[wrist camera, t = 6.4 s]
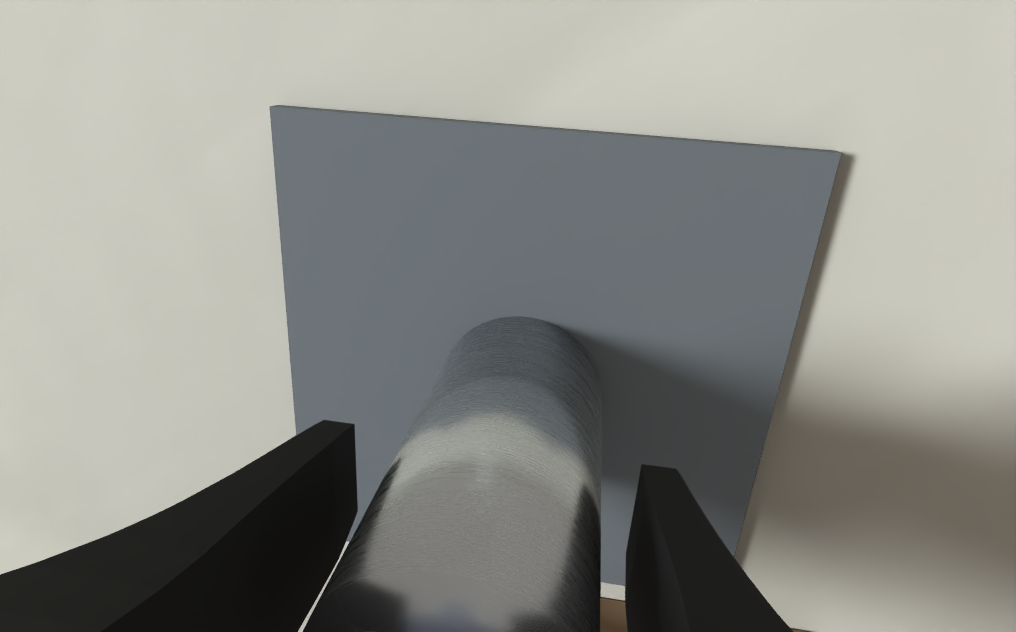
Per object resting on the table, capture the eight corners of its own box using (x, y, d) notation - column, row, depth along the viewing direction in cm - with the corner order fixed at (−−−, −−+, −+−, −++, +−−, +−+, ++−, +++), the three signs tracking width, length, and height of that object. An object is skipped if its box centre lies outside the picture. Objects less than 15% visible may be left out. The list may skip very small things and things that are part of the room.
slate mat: (310, 524, 19) (304, 534, 18) (278, 105, 14) (269, 105, 14) (719, 590, 17) (722, 601, 17) (834, 151, 13) (841, 153, 12)
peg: (445, 452, 16) (316, 766, 9) (438, 311, 15) (278, 554, 8) (597, 465, 16) (591, 810, 9) (606, 321, 14) (609, 590, 7)
